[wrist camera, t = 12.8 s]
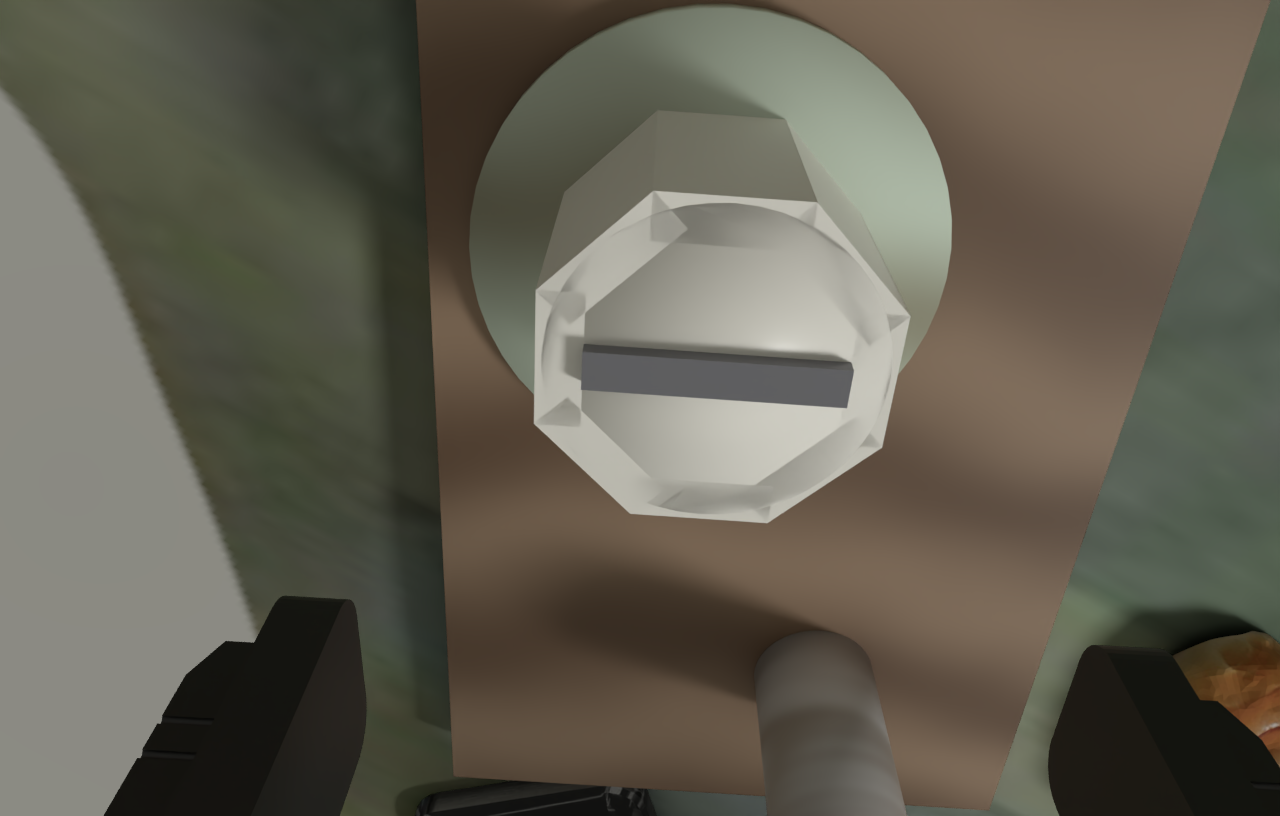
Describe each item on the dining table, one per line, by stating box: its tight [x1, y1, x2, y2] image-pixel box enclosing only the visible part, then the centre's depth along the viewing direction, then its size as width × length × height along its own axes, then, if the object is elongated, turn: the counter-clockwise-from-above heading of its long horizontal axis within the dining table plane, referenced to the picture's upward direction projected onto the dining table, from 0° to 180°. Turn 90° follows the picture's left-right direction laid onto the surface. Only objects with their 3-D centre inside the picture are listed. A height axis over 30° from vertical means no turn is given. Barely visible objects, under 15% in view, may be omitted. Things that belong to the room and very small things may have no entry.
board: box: [416, 0, 1270, 816], centre depth 23 cm, size 23×16×7 cm
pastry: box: [1173, 631, 1280, 767], centre depth 29 cm, size 9×7×4 cm
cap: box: [534, 110, 911, 523], centre depth 19 cm, size 6×6×5 cm
